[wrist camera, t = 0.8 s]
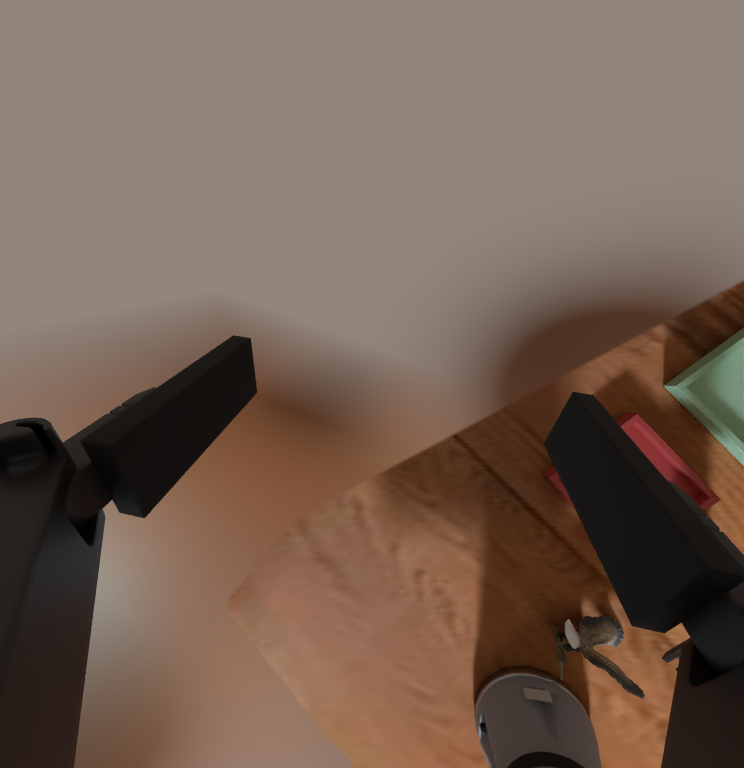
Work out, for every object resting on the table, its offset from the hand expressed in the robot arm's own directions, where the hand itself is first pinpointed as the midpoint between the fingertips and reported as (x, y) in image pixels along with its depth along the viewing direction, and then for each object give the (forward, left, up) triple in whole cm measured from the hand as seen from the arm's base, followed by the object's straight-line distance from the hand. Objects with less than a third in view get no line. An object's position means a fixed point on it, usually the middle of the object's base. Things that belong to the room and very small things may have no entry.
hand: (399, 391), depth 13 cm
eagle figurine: (-40, +6, -34) cm, 53 cm away
